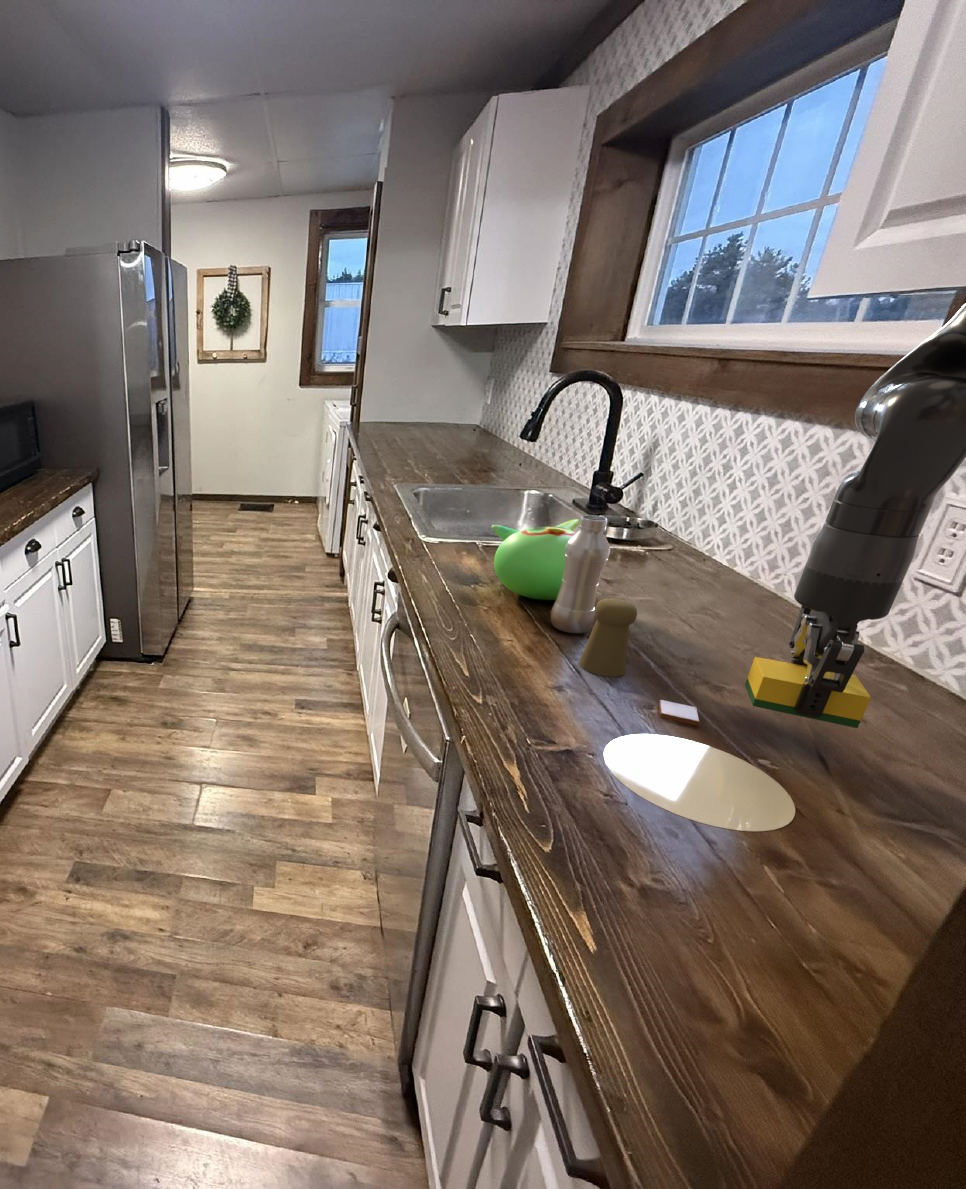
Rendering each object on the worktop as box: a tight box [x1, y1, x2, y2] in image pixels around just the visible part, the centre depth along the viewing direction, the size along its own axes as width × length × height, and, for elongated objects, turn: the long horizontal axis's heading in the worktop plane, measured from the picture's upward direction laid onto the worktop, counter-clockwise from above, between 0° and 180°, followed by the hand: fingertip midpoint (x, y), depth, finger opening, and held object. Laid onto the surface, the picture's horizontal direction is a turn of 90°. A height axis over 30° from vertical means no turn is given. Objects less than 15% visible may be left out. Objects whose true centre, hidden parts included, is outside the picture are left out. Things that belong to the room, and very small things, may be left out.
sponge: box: [744, 656, 872, 729], centre depth 74 cm, size 9×6×4 cm, turn 57°
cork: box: [578, 597, 638, 678], centre depth 95 cm, size 6×6×11 cm
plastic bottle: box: [550, 514, 611, 634], centre depth 106 cm, size 6×7×20 cm
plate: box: [603, 733, 796, 833], centre depth 71 cm, size 22×22×1 cm
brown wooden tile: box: [658, 699, 700, 727], centre depth 83 cm, size 4×4×2 cm
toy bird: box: [491, 518, 580, 601], centre depth 122 cm, size 18×17×15 cm
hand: (800, 700), depth 75 cm, fingers closed on sponge, 6 cm apart
